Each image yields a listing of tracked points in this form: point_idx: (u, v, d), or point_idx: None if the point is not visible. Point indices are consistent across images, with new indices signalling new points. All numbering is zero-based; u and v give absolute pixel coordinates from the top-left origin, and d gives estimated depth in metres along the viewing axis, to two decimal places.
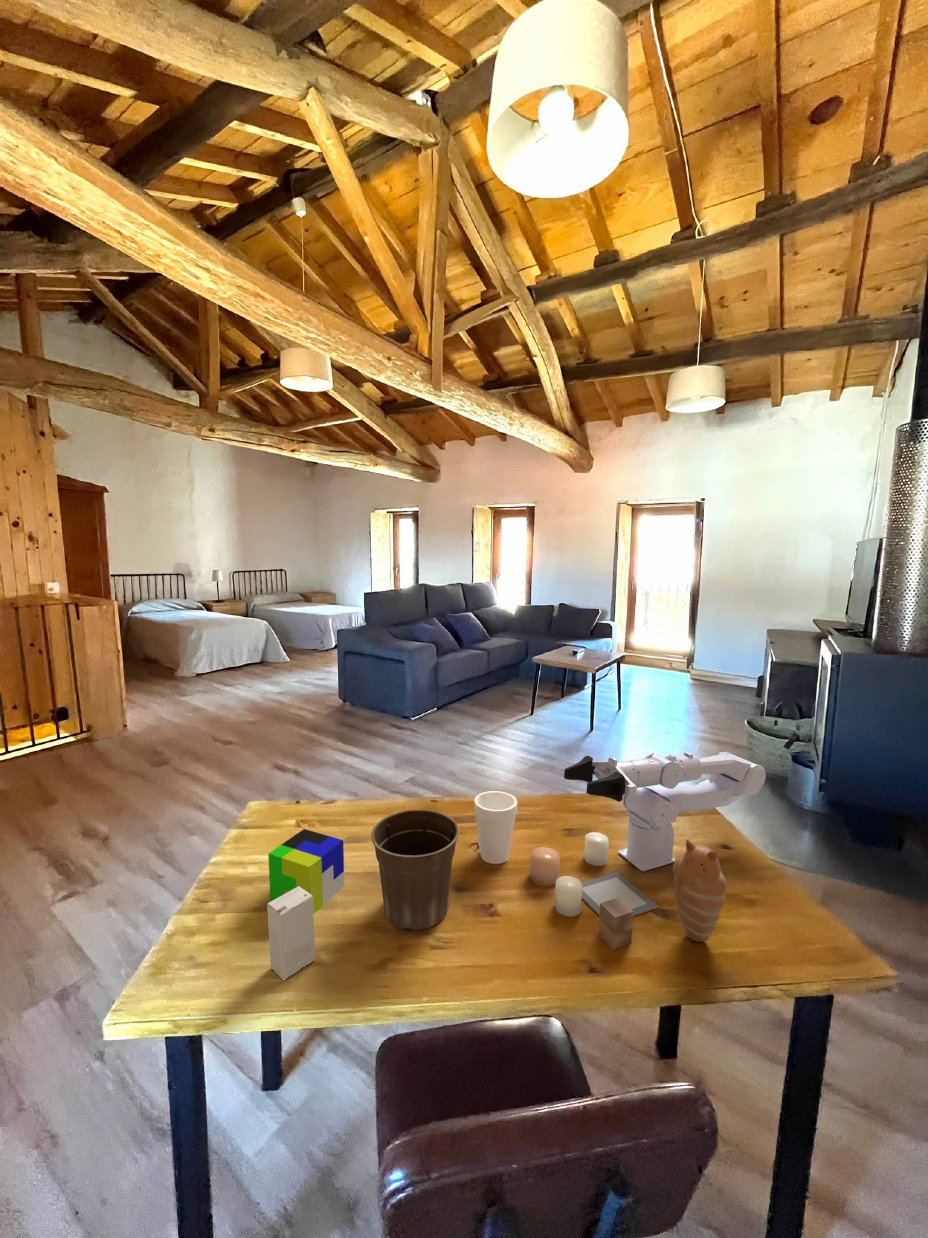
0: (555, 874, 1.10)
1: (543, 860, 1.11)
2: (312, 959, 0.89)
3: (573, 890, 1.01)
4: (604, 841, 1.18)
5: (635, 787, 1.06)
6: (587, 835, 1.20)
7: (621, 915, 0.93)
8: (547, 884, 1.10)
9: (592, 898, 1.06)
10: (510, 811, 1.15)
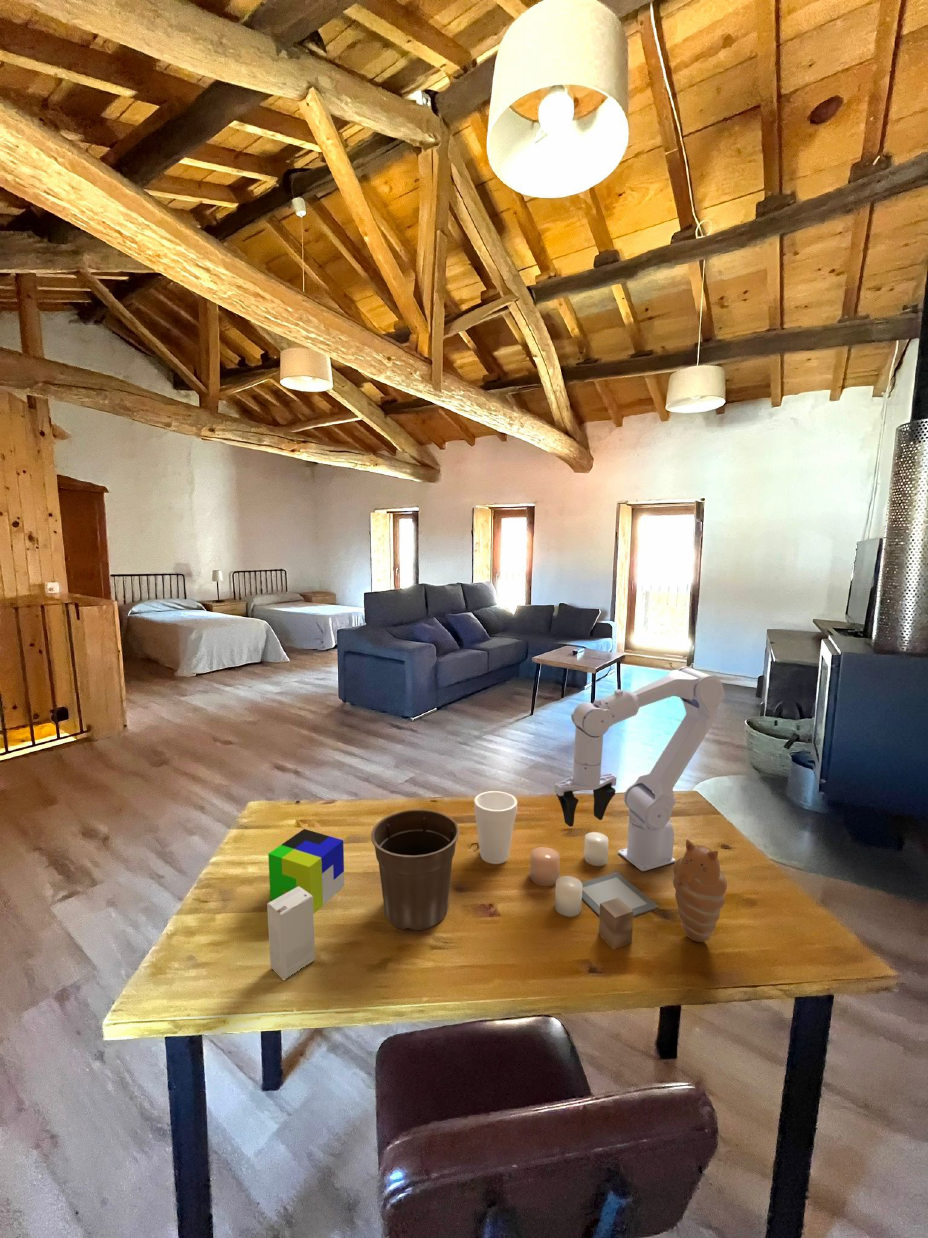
0: (555, 874, 1.10)
1: (543, 860, 1.10)
2: (312, 959, 0.89)
3: (573, 890, 1.01)
4: (604, 841, 1.18)
5: (555, 785, 1.12)
6: (587, 835, 1.20)
7: (621, 915, 0.93)
8: (547, 884, 1.10)
9: (592, 898, 1.06)
10: (510, 811, 1.15)
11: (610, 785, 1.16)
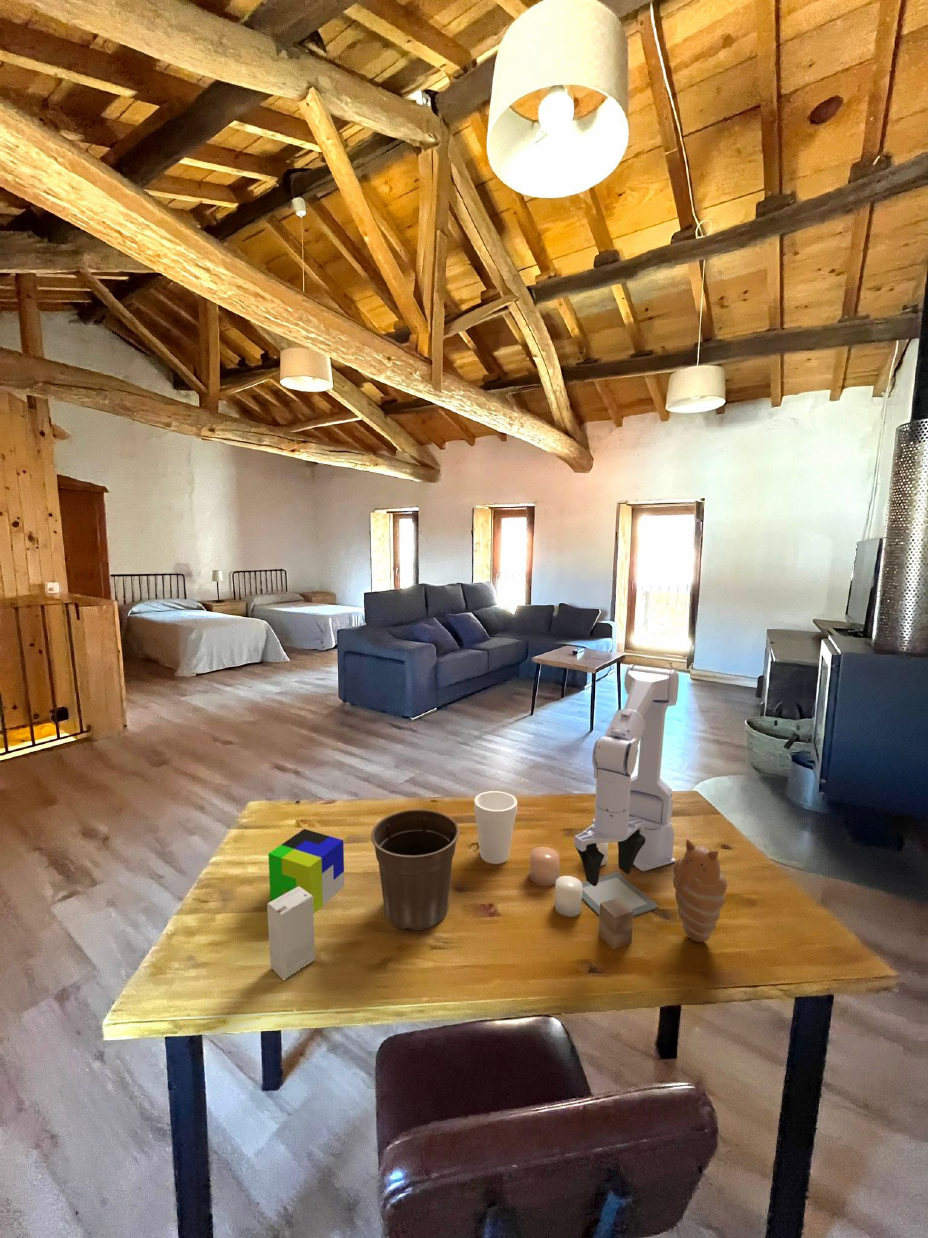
0: (555, 874, 1.10)
1: (543, 860, 1.10)
2: (312, 959, 0.89)
3: (573, 890, 1.01)
4: None
5: (575, 838, 0.92)
6: None
7: (621, 915, 0.93)
8: (547, 884, 1.10)
9: (592, 898, 1.06)
10: (510, 811, 1.15)
11: (638, 832, 0.97)
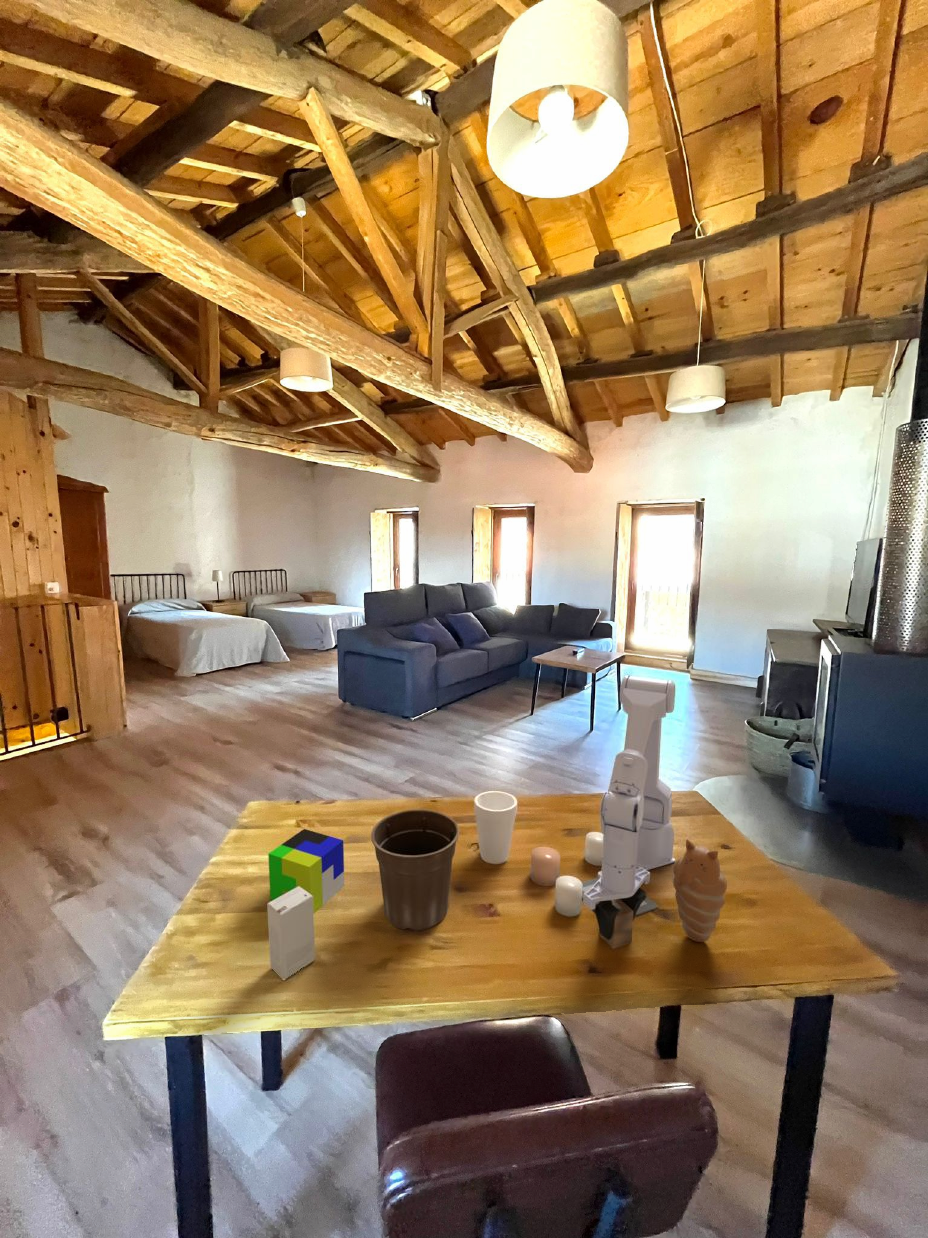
0: (556, 874, 1.11)
1: (544, 860, 1.10)
2: (312, 959, 0.89)
3: (574, 889, 1.01)
4: None
5: (584, 896, 0.91)
6: (588, 834, 1.20)
7: (621, 915, 0.93)
8: (548, 884, 1.10)
9: None
10: (510, 811, 1.15)
11: None
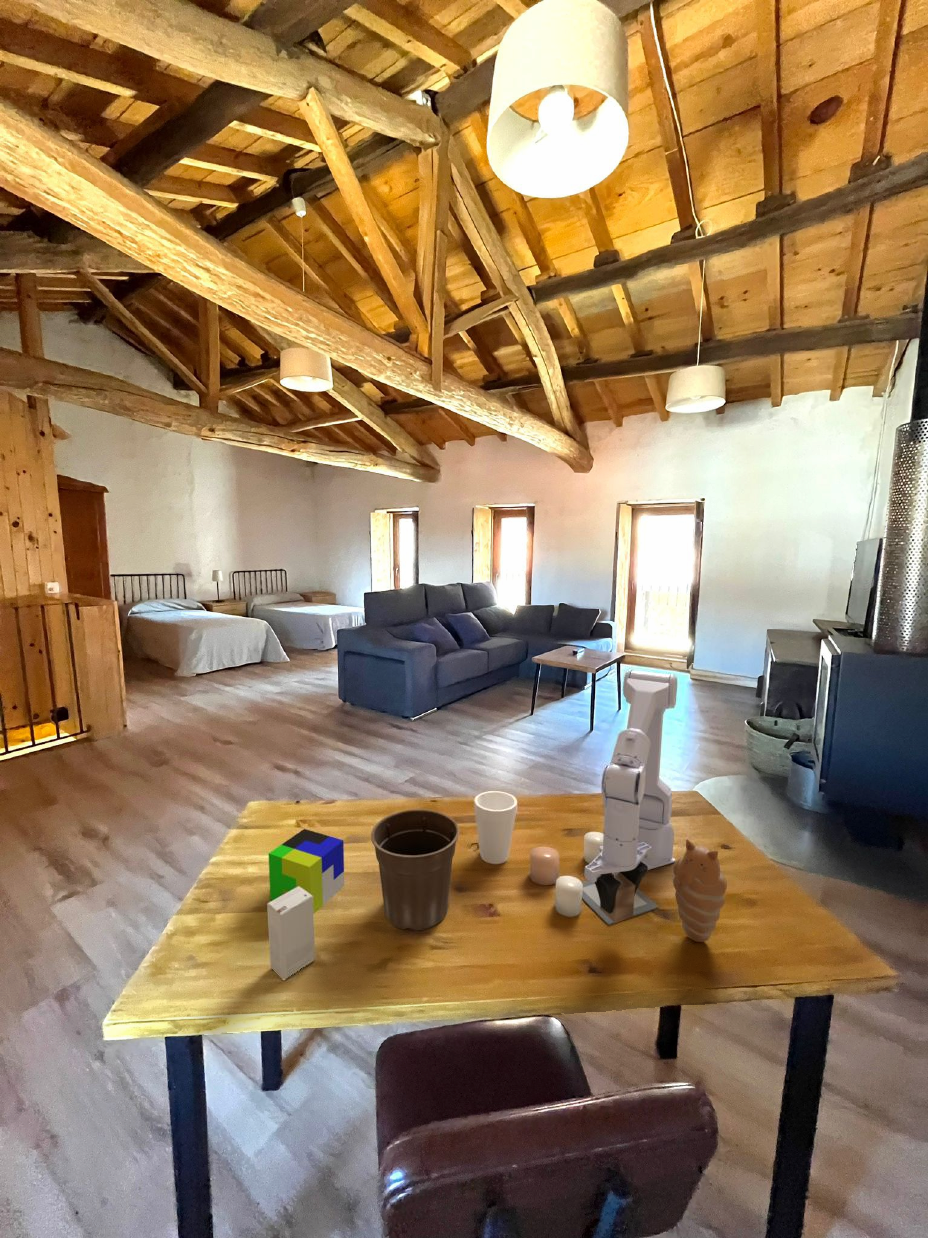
0: (557, 871, 1.11)
1: (544, 859, 1.11)
2: (312, 959, 0.89)
3: (574, 890, 1.01)
4: (602, 841, 1.17)
5: (585, 869, 0.90)
6: (587, 834, 1.20)
7: (623, 889, 0.92)
8: (550, 883, 1.10)
9: (592, 898, 1.06)
10: (510, 811, 1.15)
11: (645, 858, 0.96)
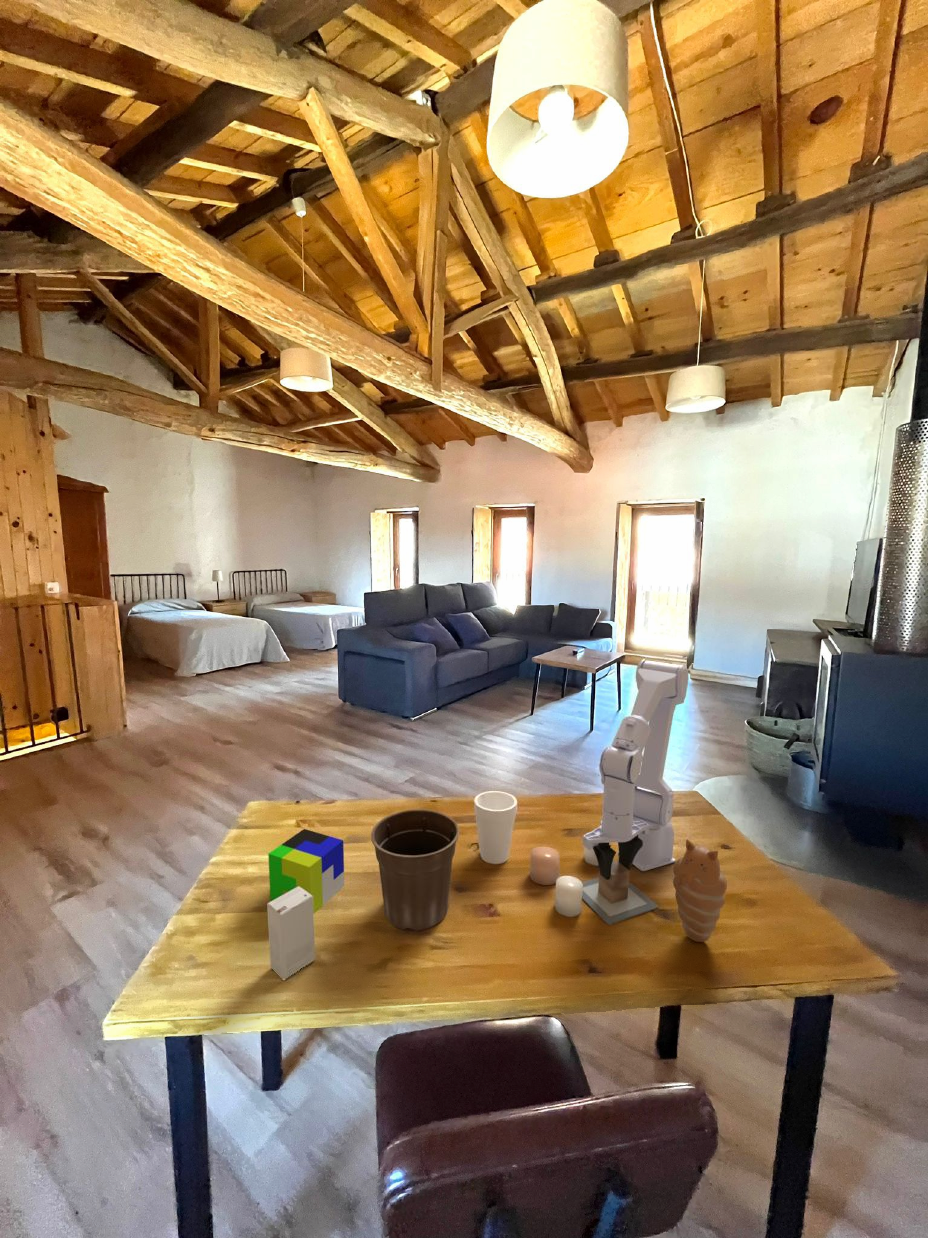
0: (558, 870, 1.11)
1: (546, 858, 1.11)
2: (312, 959, 0.89)
3: (575, 889, 1.01)
4: None
5: (583, 837, 1.02)
6: (588, 833, 1.20)
7: (618, 874, 1.04)
8: (552, 882, 1.10)
9: (592, 898, 1.06)
10: (510, 811, 1.15)
11: (642, 834, 1.07)
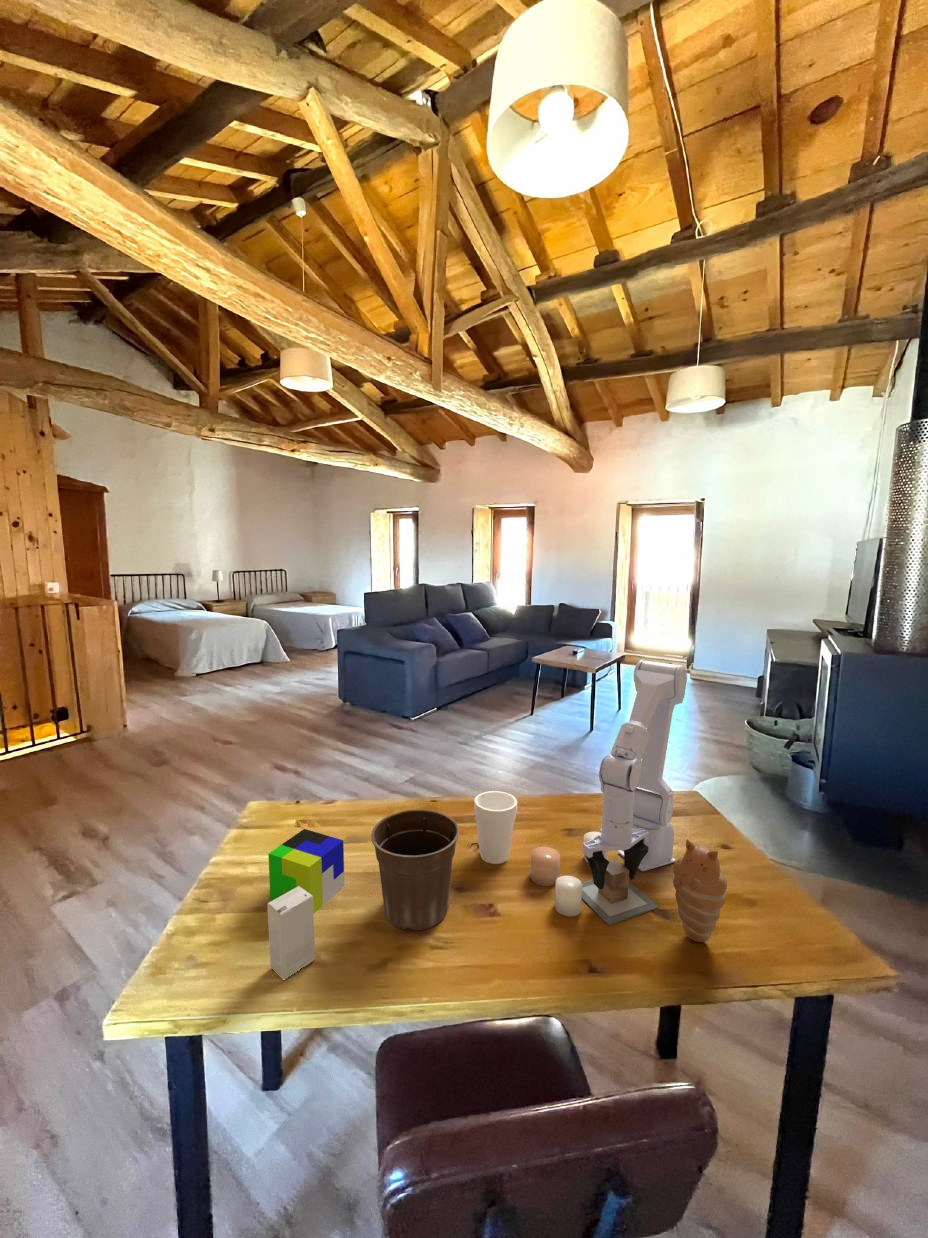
0: None
1: (548, 860, 1.10)
2: (312, 959, 0.89)
3: (575, 889, 1.01)
4: None
5: (583, 845, 1.03)
6: (589, 833, 1.21)
7: (618, 873, 1.04)
8: (553, 883, 1.10)
9: (592, 898, 1.06)
10: (510, 811, 1.15)
11: (642, 842, 1.07)
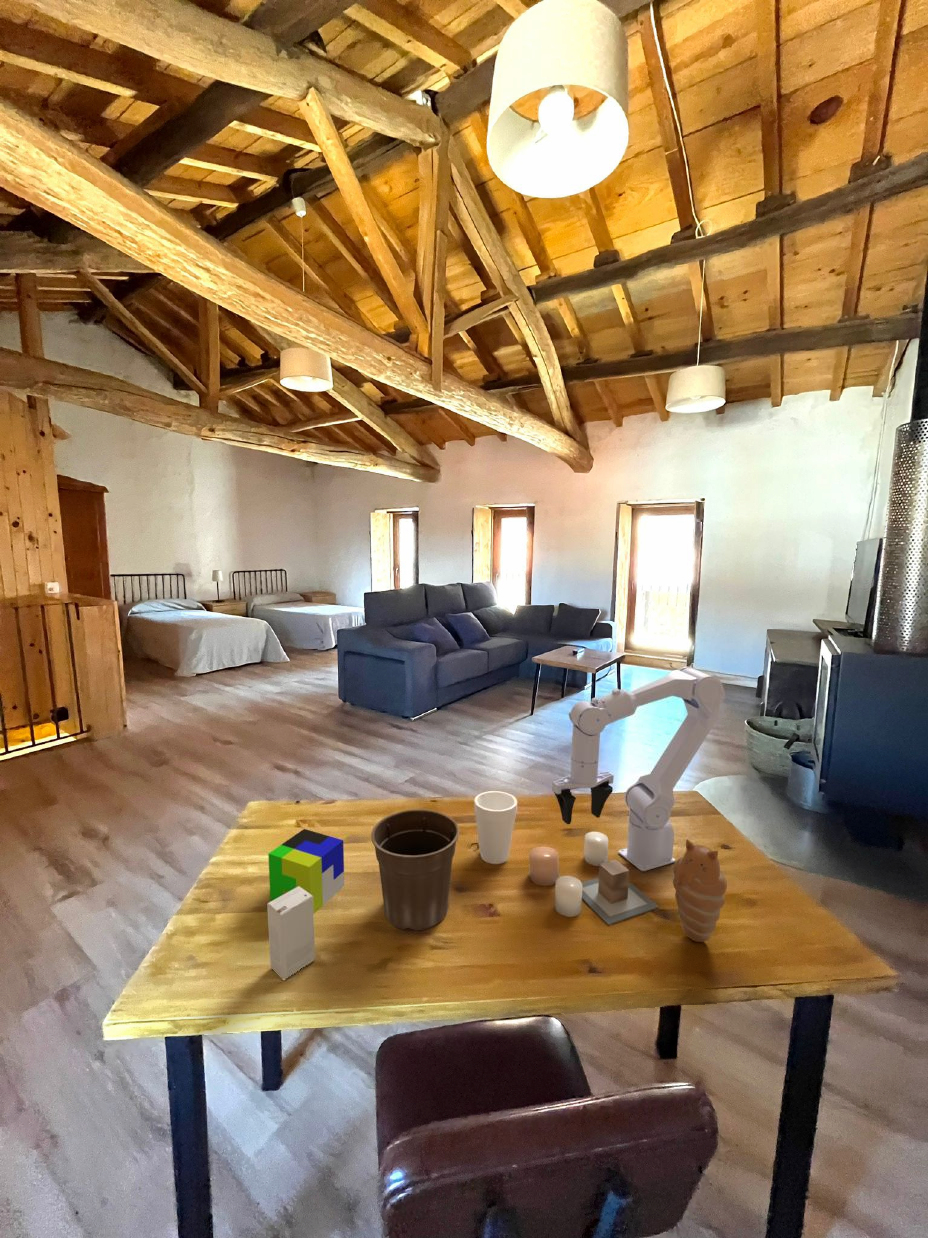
0: (558, 867, 1.12)
1: (548, 859, 1.10)
2: (312, 959, 0.89)
3: (575, 889, 1.01)
4: (598, 843, 1.17)
5: (552, 783, 1.13)
6: (592, 832, 1.21)
7: (618, 873, 1.04)
8: (555, 880, 1.11)
9: (592, 898, 1.06)
10: (510, 811, 1.15)
11: (607, 783, 1.17)
